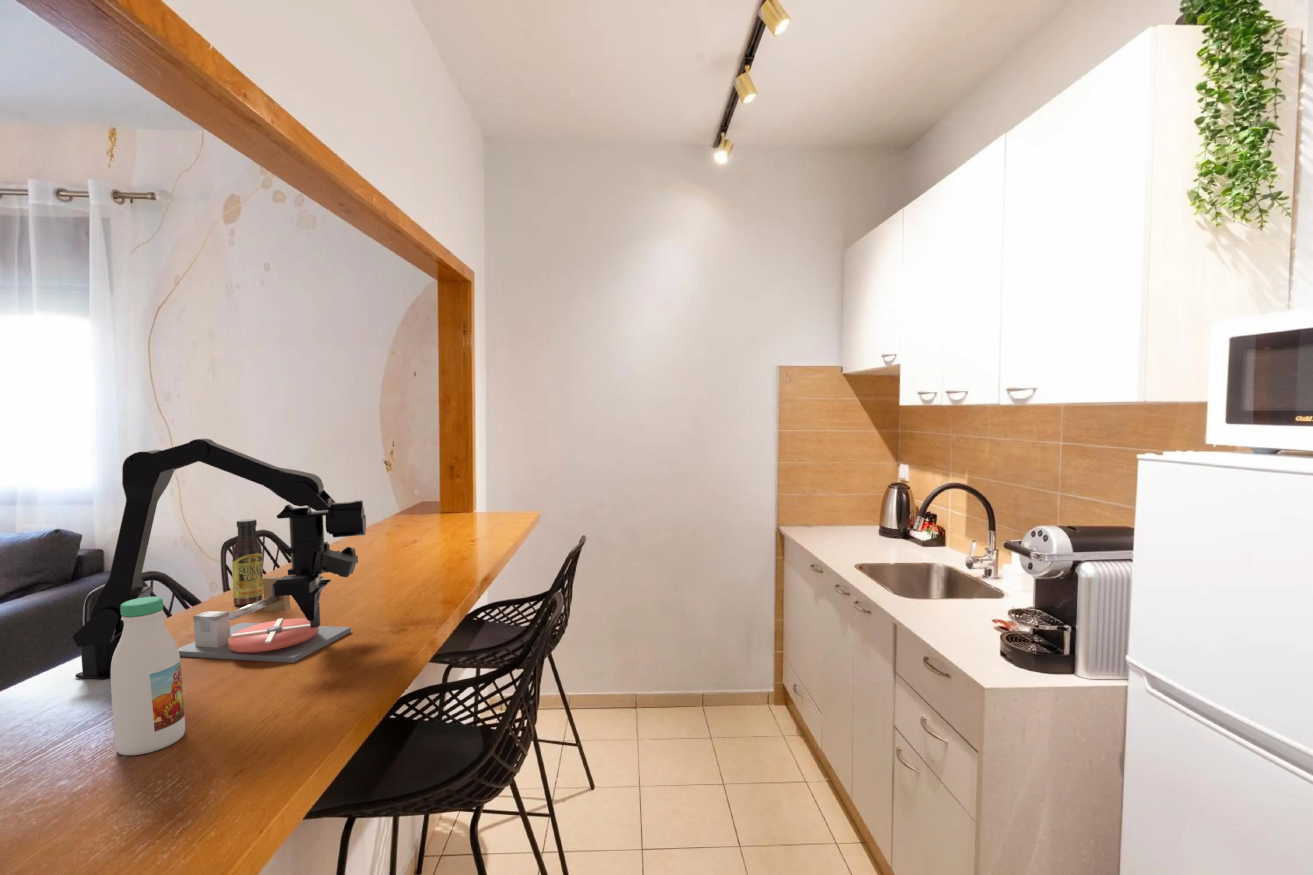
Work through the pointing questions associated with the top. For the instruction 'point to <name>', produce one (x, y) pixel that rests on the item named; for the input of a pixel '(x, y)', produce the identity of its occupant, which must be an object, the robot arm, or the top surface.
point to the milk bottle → (146, 681)
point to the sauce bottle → (247, 565)
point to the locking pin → (265, 601)
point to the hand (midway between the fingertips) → (311, 620)
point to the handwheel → (274, 634)
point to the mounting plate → (214, 644)
